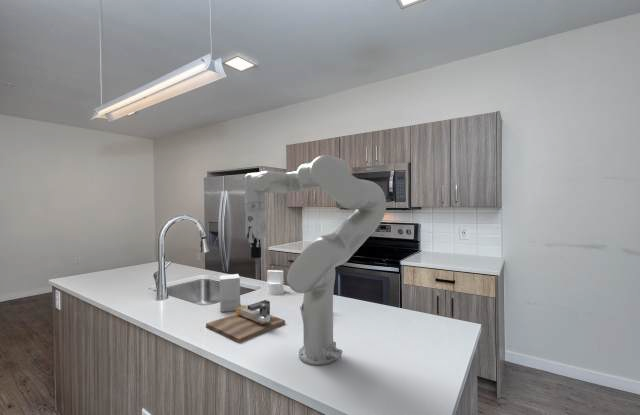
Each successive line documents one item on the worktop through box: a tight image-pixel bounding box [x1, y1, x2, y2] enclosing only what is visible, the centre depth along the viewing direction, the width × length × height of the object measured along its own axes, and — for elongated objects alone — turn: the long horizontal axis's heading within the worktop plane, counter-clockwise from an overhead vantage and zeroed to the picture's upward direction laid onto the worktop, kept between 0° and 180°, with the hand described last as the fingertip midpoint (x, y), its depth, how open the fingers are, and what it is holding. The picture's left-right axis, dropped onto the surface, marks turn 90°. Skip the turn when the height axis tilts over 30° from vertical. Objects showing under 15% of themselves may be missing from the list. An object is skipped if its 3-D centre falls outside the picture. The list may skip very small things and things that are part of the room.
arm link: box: [235, 303, 271, 325], centre depth 123 cm, size 19×4×8 cm, turn 49°
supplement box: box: [219, 273, 241, 313], centre depth 142 cm, size 9×9×15 cm
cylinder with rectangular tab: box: [266, 269, 285, 296], centre depth 166 cm, size 9×9×12 cm
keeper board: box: [205, 299, 286, 344], centre depth 121 cm, size 22×22×8 cm
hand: (256, 257), depth 110 cm, fingers closed
